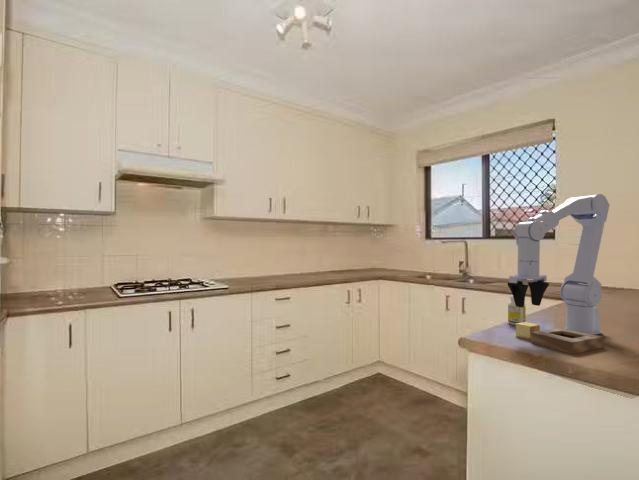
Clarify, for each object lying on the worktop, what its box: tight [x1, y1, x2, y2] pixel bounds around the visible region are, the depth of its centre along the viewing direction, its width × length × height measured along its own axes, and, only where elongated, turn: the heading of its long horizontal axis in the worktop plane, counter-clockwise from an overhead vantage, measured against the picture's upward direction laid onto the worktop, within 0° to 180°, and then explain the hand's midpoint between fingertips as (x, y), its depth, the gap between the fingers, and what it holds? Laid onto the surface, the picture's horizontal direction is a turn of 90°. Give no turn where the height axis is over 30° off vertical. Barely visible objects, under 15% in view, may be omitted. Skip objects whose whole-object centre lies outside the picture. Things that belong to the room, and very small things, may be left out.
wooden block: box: [515, 321, 541, 341], centre depth 108 cm, size 4×4×4 cm
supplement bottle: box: [507, 294, 527, 326], centre depth 125 cm, size 5×5×10 cm
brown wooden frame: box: [530, 327, 604, 355], centre depth 100 cm, size 14×11×3 cm
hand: (527, 305), depth 108 cm, fingers open, 7 cm apart
